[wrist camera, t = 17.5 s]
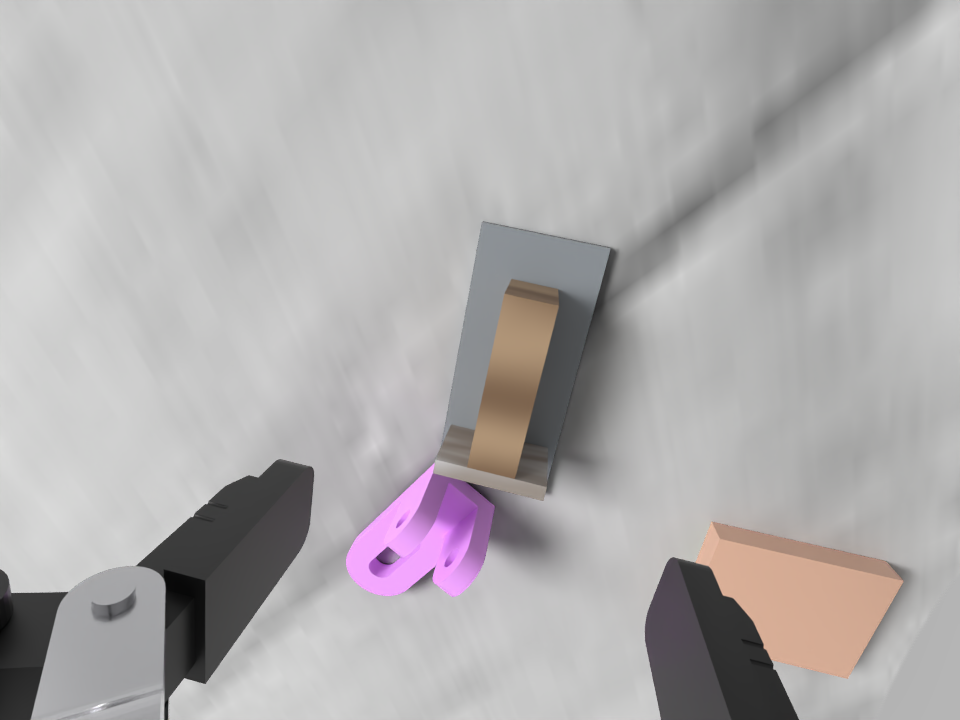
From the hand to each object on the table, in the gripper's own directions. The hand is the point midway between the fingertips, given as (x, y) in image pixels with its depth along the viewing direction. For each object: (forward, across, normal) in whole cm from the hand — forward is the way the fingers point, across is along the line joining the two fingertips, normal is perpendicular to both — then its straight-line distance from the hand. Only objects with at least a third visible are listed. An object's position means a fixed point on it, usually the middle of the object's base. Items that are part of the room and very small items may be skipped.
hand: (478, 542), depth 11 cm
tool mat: (+23, 0, +4) cm, 23 cm away
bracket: (+23, +5, +19) cm, 30 cm away
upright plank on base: (+23, 0, +4) cm, 23 cm away
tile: (+22, -22, +12) cm, 34 cm away
